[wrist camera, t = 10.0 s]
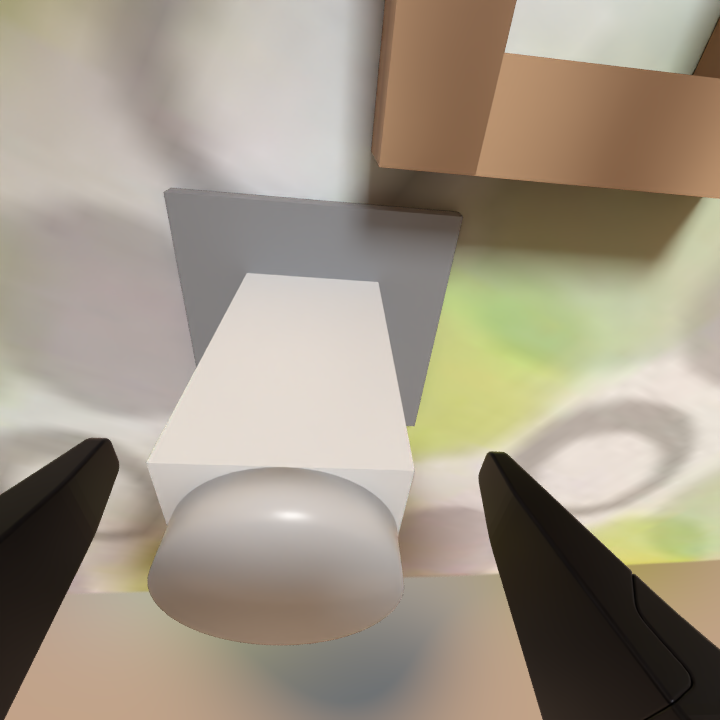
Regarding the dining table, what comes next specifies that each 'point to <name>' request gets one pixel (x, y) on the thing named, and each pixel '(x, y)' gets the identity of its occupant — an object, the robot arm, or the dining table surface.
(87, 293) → the dining table surface
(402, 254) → the mat
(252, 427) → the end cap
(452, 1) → the housing
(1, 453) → the dining table surface
